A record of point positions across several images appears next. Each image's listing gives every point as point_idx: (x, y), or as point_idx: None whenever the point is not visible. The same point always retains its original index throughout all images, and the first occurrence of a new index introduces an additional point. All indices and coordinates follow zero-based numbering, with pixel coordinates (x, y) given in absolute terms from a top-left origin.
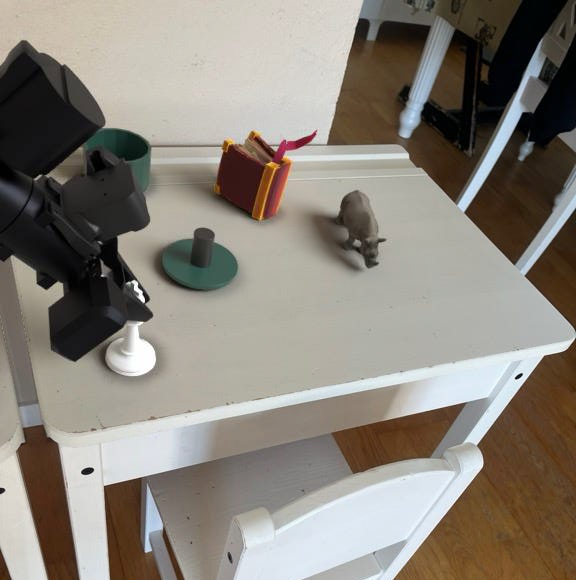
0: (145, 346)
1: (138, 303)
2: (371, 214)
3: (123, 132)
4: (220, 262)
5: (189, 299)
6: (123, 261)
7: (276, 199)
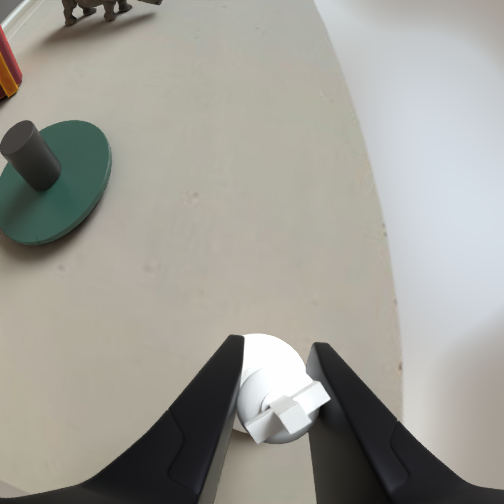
0: (248, 352)
1: (383, 406)
2: None
3: None
4: (61, 144)
5: (114, 220)
6: (159, 451)
7: (12, 57)
